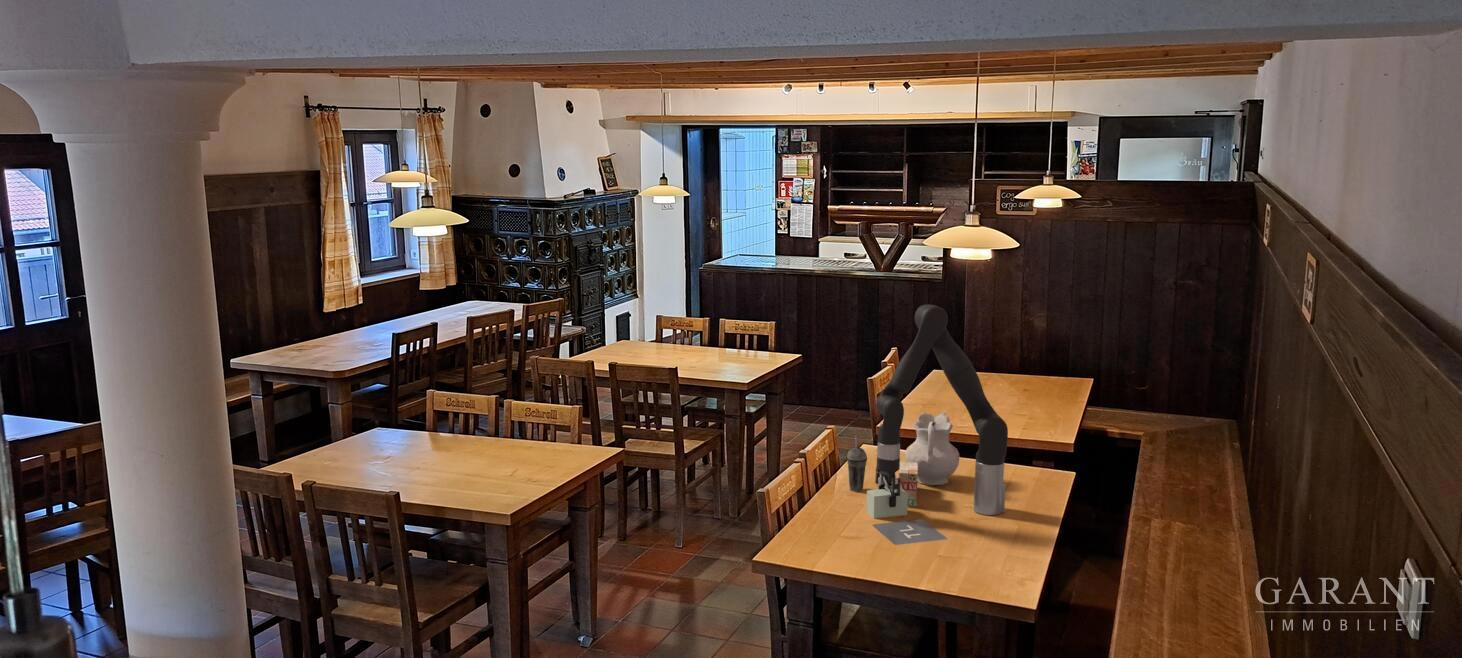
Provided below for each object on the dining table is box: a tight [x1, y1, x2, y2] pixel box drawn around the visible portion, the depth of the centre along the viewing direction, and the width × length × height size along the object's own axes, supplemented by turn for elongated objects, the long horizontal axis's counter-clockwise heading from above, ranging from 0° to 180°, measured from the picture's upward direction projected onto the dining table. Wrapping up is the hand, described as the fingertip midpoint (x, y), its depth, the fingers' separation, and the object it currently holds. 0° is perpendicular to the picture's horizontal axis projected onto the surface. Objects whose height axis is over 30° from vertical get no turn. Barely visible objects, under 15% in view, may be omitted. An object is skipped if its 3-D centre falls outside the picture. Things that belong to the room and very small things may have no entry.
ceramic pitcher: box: [904, 411, 960, 486], centre depth 379 cm, size 22×20×25 cm
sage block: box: [865, 488, 908, 519], centre depth 347 cm, size 6×12×8 cm, turn 106°
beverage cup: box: [846, 435, 868, 493], centre depth 370 cm, size 7×7×20 cm
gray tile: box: [871, 518, 948, 546], centre depth 331 cm, size 18×18×1 cm
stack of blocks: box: [898, 461, 918, 508], centre depth 364 cm, size 21×6×12 cm, turn 170°
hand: (887, 502), depth 347 cm, fingers open, 8 cm apart
